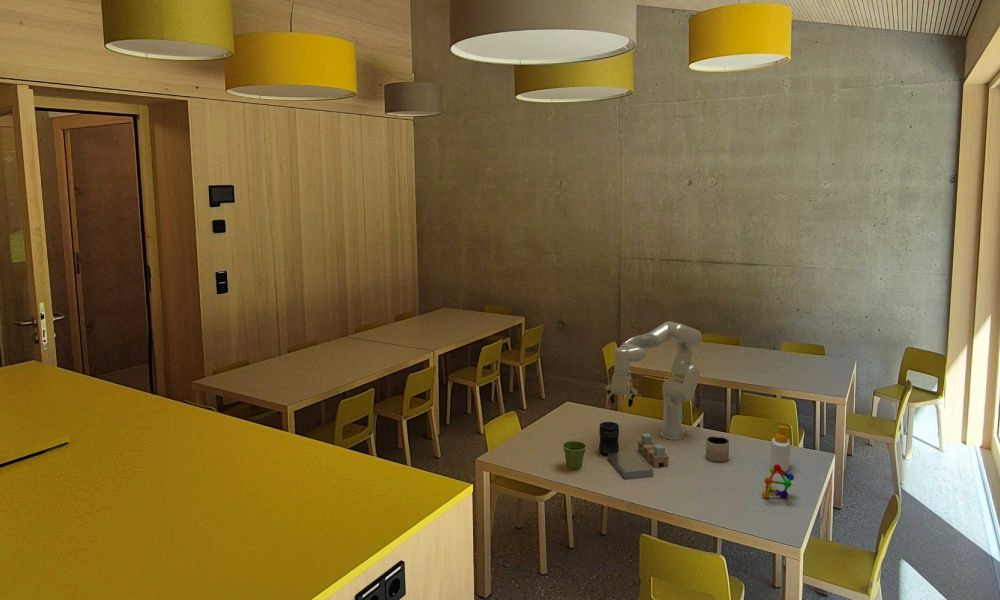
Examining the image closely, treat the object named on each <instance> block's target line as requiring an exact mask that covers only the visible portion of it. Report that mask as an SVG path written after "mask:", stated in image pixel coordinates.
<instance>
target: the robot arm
mask: <svg viewBox="0 0 1000 600" xmlns="http://www.w3.org/2000/svg"><path fill="white" fill-rule="evenodd" d="M670 339H672V340H674V341H675V344H676V352H675V356H674V358H673V361H672V364H671V368H670V373H671V374H672V375H673V377H676V378H678V379H676V378H667V379H666V380H664V381H663V383H662V395H663V423H662V424H663V427H662V430H661V431H660V432H659V433H660V434H659V435H660V437H661V438H663V439H666V440H672V441H676V440H677V441H678V440H679V441H680V440H682V439H683V438H684V437H685V433H691V429H690V428H689V427H688V428H686V427H682V421H683V418H682V416H683V402H689V401H691V400H692V398H693V396H694V394H695V392H696V388H697V386H698V383H699V379H700V375H701V369H700V368H699V366H698V365H697V364H695V363H694V362H692V359H693V355H694V349H693V346H698V345H699V344H701V343H702V340H703V335H702V333H701V331H700V330H698V329H695V328H692V327H690V326H688V325H685V324H682V323H679V322H674V321H666V322H663V323H662V324H660V325H659V326H658V327H655V328H654V329H653V330H650V331H649V332H647V333H643V334H640V335H636V336H633V337H631V338H629V339H627V340H626V341H624V342H623V343H622V344H621V345H620V346H619V347H616V348H615V349H614V359H613V360H614V361H613V362H614V366H613V368H614V369H613V374H612V377H611V384H608V385H605V390H606V392H607V394H608V395H609V402H610V404H611V405H612V404H614V403H615V394H616V395H622V396H627V397H628V398H629V399H628V401H627V402H628V405H627V406H628V407H629V408H630V407H632V406H633V405H634V398H635V397H636V396H637V395H638V393H639V391H638V390H637V389H635V388H634V387H633V379H632V373H633V371H632V370H630V363H631V362H632V363H633V362H634V363H635V362H641V361H643V359H644V358H645V357H646V351H645V349H652V348H654V349H655V348H658V347H660V346H661V345H663V344H664V343H665V342H666V343H667V342H668V341H669V340H670ZM679 379H682V380H683V381H682V380H679ZM682 401H683V402H682Z"/></svg>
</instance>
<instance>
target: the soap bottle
mask: <svg viewBox="0 0 1000 600" xmlns="http://www.w3.org/2000/svg"><path fill="white" fill-rule="evenodd" d="M785 430H791V427H790V426H786V425H779V426H778V433H776V434H775V435H774V437H772V439H771V448H770V449H771V451H770V468H771V467H774V465H775V464H779V465H780V466H781V469H782V470H783V471H784V472H787V471H789V469H790V453H791V442H790V440H789V438H788V436H787V434H785Z"/></svg>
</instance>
